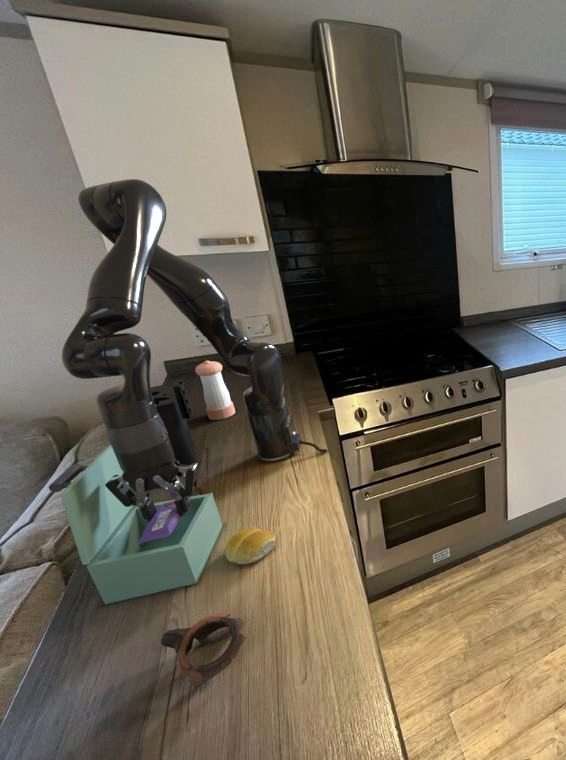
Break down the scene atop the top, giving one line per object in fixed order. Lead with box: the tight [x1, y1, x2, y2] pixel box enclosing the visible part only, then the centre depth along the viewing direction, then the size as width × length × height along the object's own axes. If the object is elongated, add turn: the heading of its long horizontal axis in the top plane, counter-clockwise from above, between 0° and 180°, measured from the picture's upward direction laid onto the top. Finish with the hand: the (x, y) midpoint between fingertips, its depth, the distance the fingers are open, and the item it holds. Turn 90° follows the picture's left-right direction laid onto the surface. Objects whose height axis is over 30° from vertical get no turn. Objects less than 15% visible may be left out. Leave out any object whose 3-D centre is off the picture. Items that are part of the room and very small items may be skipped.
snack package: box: [137, 496, 192, 544], centre depth 84 cm, size 12×2×5 cm
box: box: [86, 492, 224, 605], centre depth 86 cm, size 14×16×9 cm
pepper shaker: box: [194, 360, 236, 421], centre depth 141 cm, size 7×7×19 cm
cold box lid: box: [48, 444, 134, 566], centre depth 79 cm, size 15×16×5 cm
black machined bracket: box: [151, 379, 197, 476], centre depth 117 cm, size 12×21×22 cm, turn 39°
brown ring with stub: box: [160, 612, 248, 686], centre depth 69 cm, size 12×10×8 cm
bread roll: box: [224, 526, 277, 565], centre depth 90 cm, size 8×9×4 cm
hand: (169, 515), depth 85 cm, fingers closed on snack package, 4 cm apart
